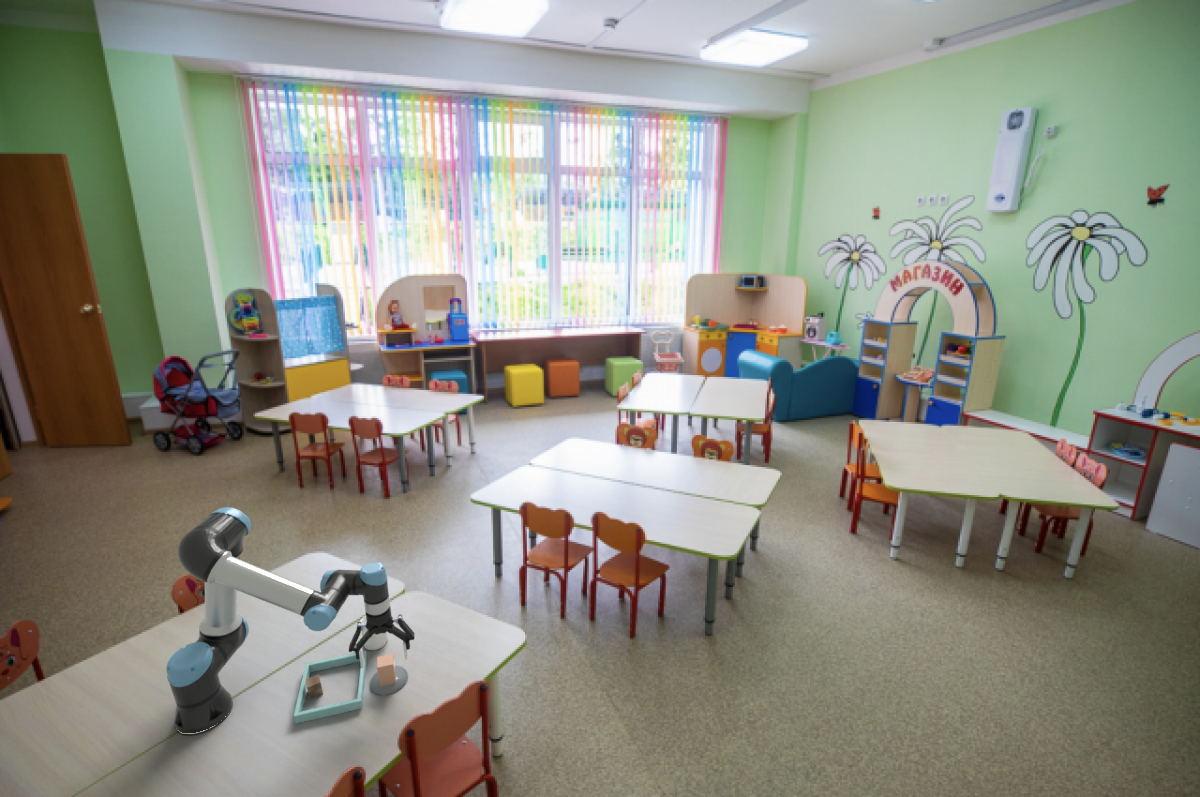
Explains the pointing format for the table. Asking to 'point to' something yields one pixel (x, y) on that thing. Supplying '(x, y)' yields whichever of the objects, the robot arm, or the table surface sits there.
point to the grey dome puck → (388, 689)
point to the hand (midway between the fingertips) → (384, 660)
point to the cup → (374, 638)
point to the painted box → (386, 670)
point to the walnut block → (314, 686)
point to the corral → (334, 708)
